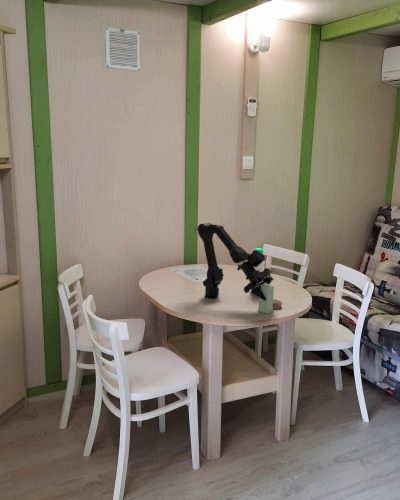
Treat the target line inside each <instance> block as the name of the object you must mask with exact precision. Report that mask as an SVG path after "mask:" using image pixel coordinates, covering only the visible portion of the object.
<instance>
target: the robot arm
mask: <svg viewBox="0 0 400 500" xmlns="http://www.w3.org/2000/svg"><path fill="white" fill-rule="evenodd" d="M196 228H197V229H196V230H197V233H198V236H199V237H200V239H201V240H202V242H203V248H204V253H205V257H206V263H207V267H208V268H207V272H206V278H205V280H203V281H202V284H203V287H205V290H204V293H205V294H204V298H207V299H217V298H218V297H219V295H220V288H219V285H221V282H223V280H224V273H223V272H224V271H223V268H222V267H221V268H220V267H219V266H218V262H217V261H218V260H217V257H216V253H215V252H216V250H215V245H214V242H213V241H214V240H213V237H214V235H215V234H216V236H217V238H218V239H219V240H220V241H221V242H222V243H223V245H224V247H226V249H227V250H228V252H229V256H230V258H231V260H232V262H233V263H235V264H238V265H237V271H241V270H242V272H243V274H244V275H245V280H246V281H248V282H249V283H248V284H246V285H245V286H244V287H243V292H244V293H245V294H249V293H250V294H251V293H252V295H254V296H255V297H258V299H259V298H261V299H263V300H264V301H265V300H266V298H265V296H264V294H263V292H262V291H261V285H262V284H270V285H271V283H272V282H273V281H274V280H275V279H274V278H273V277H272V275H271V274H272V270H271V269H270V268H269V267H266V268H264V271H262V272H260V271H259V270H257V271H256V269H255V268H254V267H258V266H259V265H260V264H261V263H262V262H263V261H265V260H266V257H265V255H264V253H263V254H262V253H261V252H259V251H257V250H255V249H254V250H253V251H252V252H251V253H248V252H247V251H246V250H245V249H243V247H241V246H239V245H237V244H236V242H235V240H234V239H233V238H232V237H231V236H230V235H229V233H228V232H227V231H226V229H225V228H224V226H223V225H218V224H213V223H211V222H204V223H200V224H198V226H197V227H196ZM240 263H241V264H240ZM250 290H251V292H250Z"/></svg>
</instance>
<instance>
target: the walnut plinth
mask: <svg viewBox="0 0 400 500" xmlns="http://www.w3.org/2000/svg"><path fill="white" fill-rule="evenodd" d="M282 305H283V303H282V301H281V300H279V299H275V298H273V310H280V309H282V308H283V307H282Z"/></svg>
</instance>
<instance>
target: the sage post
mask: <svg viewBox="0 0 400 500" xmlns="http://www.w3.org/2000/svg"><path fill="white" fill-rule="evenodd" d="M261 291H262V292H263V294H264V296H265V298H266V300H265V301H264V300H263V299H261V298H259V297H258V306H257V307H258V308H257V312H259V313H263V314H269V313H271V312H273V310H274V309H273V299H274V293H275V285H273V284H271V283H270V284H262V285H261Z"/></svg>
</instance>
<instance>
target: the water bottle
mask: <svg viewBox="0 0 400 500" xmlns="http://www.w3.org/2000/svg"><path fill="white" fill-rule="evenodd" d="M254 250H257V251H259V252H261V253H262V254H263V255H264V249H263V248H262V247H256V248H255V249H254ZM265 263H266V261H265V260H264V261H263V262H262V263H261V264H260V265H259V266H258V267H254V268H255V269H256V271H257V270H259V271H260V272H262V271H264V269H265ZM250 292H251V290H250ZM250 292H249V293H250ZM251 294H252V293H250V295H251ZM252 295H253V294H252Z"/></svg>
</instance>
